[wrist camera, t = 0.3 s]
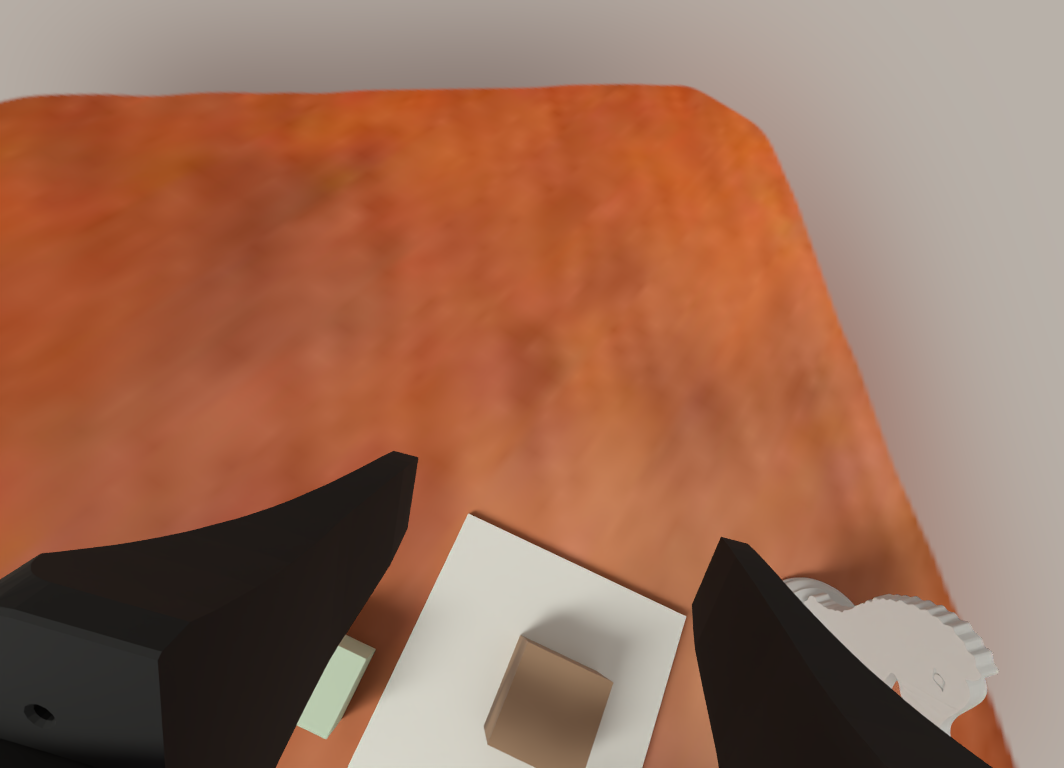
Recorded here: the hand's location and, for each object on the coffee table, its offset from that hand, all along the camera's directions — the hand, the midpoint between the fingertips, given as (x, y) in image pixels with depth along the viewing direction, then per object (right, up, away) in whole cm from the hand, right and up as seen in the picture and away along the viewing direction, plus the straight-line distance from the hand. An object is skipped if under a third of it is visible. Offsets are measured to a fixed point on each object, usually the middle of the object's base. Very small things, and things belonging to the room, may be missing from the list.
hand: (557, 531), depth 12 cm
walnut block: (0, -18, +24) cm, 30 cm away
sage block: (-14, -16, +23) cm, 31 cm away
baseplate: (-1, -19, +24) cm, 30 cm away
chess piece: (+21, -17, +28) cm, 39 cm away
